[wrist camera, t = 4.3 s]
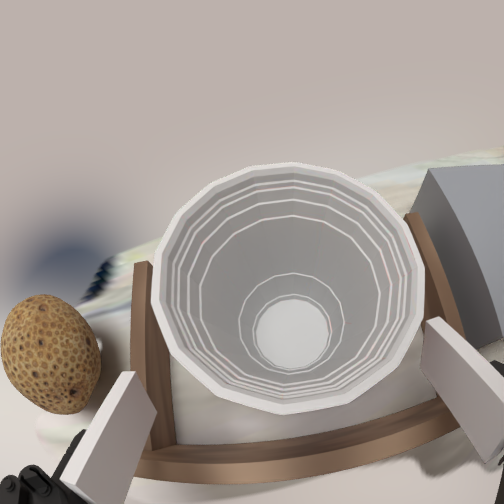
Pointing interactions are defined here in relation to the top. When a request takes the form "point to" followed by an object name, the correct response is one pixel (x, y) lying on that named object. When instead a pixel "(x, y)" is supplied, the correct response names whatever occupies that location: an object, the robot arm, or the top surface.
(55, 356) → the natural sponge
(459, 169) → the grey square block
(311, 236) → the plastic cup
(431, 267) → the brown wooden frame
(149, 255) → the top surface
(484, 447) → the robot arm
